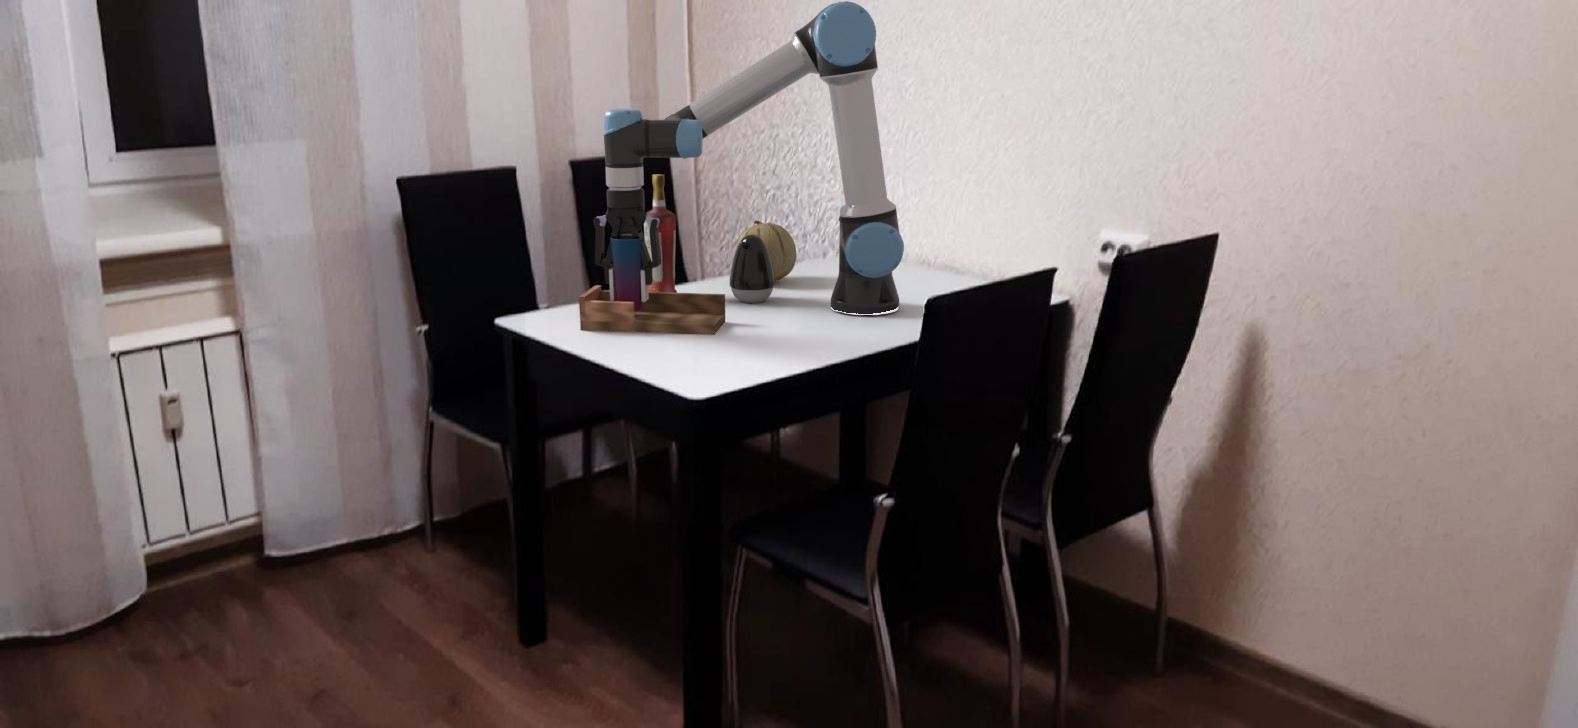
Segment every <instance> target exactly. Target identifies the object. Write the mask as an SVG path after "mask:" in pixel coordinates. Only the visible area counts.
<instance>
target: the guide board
mask: <svg viewBox="0 0 1578 728" xmlns="http://www.w3.org/2000/svg"><path fill="white" fill-rule="evenodd" d="M648 293H649V299H648V300H647V301H646V302H642V309H641V310H637V311H634V302H619V301H617V299H615V300H614V301H610V289H608V290H607V289H604V290H602V285H598V284H597V285H594V286H592V287H591V288H589V289H588V290H586V291H585V292H584V293H582V294H580V295H579V296H578V307H579V323H580V324H579V325H580V331H591V332H592V331H594V332H595V331H596V332H620V333H622V332H623V333H645V334H647V333H649V334H651V333H652V334H673V335H699V336H700V335H701V336H715V335H716V334H717V333H718V332H719V330H720V329H721V328H722V327H723V326H724V325H725V323H726V294H724V293H700V292H699V293H698V292H695V293H694V292H677V293H673V292H648Z"/></svg>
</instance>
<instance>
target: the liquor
mask: <svg viewBox="0 0 1578 728" xmlns="http://www.w3.org/2000/svg"><path fill="white" fill-rule="evenodd" d="M651 176H652V177H651V178H652V179H651V180H652V187H653V196H652V209H650V210H649V211H647V212H646V213H647V216H650V217H653V218H656V217H658V218H659V219H660V223H659V227H658V233H659V244H660V255H661V264H660V265H659V266H658V267H655V268H653V269H652V274H653V282H652V284H651V285H648V292H673V293H678V291H677V290H676V286H675V285H676V271H675V270H676V269H675V268H676V266H675V265H676V240H677V239H676V238H677V237H676V232H677V231H676V230H677V227H676V225H677V223H676V221H677V215H676V214H675V213H673V212H672V211H670V210H668V209H667V205H666V198H665V197H666V196H665V191H664V188H665V174H661V173H660V174H652V175H651ZM643 230H644V231H643V232H644V233H643V235H644V240H645V243H646V246H647V249H648V252H649V255H650V258H651V261H652V254H651V243H650V232H649V231H650V228H649V227H648V226H647V222H646V221H645V222H644V224H643Z"/></svg>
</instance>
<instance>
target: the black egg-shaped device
mask: <svg viewBox="0 0 1578 728" xmlns="http://www.w3.org/2000/svg"><path fill="white" fill-rule="evenodd" d="M737 245H738V246H736V249H735V253H734V255H733V258H732V262H731V263H732V264H731V268H730V273H729V287H730V288H731V292H732V294H733V296H734V298H736V299H737V300H738V301H739V302H741V303H744V304H745V303H746V304H760V303H762V302H764V301H766V300H767V299H768V298H770V297H771V295H772V292H773V290H774V287H775V280H774V272H773V267H772V263H771V259H770V256H769V252H768V250H767V247H766V245H765V243H764V242H763V240H762V239H761V238H760V237H759V236H757V235H754V234H750V235H746V236H745V237H743V238H742V239H741V241H740V243H739V244H738V243H737Z"/></svg>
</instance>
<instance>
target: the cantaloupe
mask: <svg viewBox="0 0 1578 728" xmlns="http://www.w3.org/2000/svg"><path fill="white" fill-rule="evenodd" d="M753 223H754V225H753V226H750V227H748V228H747V229H745V230H744V232H743V233H742V234H741V236H740V237H739V239H738V241H737V246H738V244H739V243H740V241H741V239H742V238H743V237H745V236H746V235H750V234H754V235H757V236H759V237H760V238H761V239H762V240H763V242H764V243H765V245H766V247H767V250H768V252H769V256H770V259H771V263H772V267H773V272H774V280H775V282H776V283H777V282H778V281H780V280H782V279H784V278H785V277H787V276H788V275H789V274H790V273H791V272H792V271H793V269H794V267H795V266H796V261H797V256H798V255H797V254H798V253H797V248H796V242H795V240H794V239H793V237H792V236H791V235H792V234H790V233H789V232H788V230H787V229H786V228H785V227H783V226H781V225H779V224H778V223H777V224H776V223H773V222H772V223H771V222H766V223H764V222H761V221H760V220H754V222H753ZM737 246H736V247H737Z"/></svg>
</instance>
